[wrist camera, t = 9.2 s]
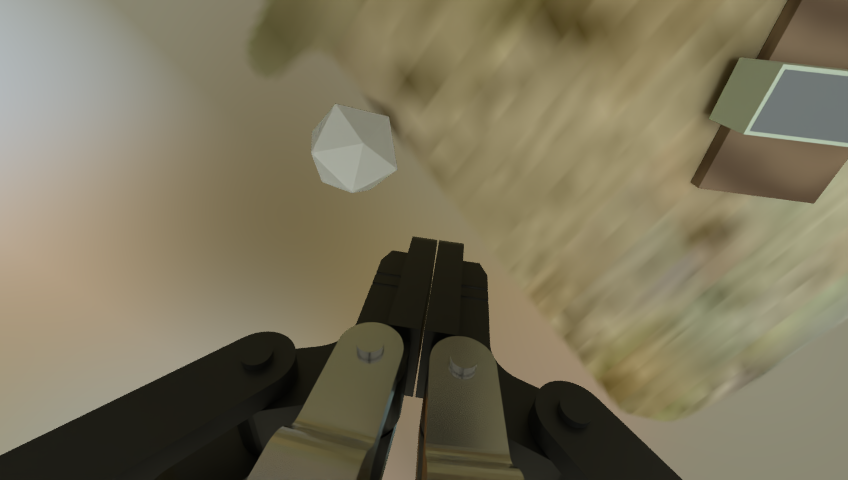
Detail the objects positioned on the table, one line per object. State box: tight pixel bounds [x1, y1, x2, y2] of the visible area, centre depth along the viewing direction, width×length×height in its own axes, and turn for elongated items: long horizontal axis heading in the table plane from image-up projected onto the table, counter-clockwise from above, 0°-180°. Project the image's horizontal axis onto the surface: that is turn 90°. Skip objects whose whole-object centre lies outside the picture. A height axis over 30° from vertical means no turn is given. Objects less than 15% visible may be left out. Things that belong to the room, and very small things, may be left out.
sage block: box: [709, 57, 848, 147], centre depth 29 cm, size 5×5×10 cm
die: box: [311, 104, 397, 193], centre depth 36 cm, size 8×9×10 cm
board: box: [691, 0, 848, 203], centre depth 31 cm, size 18×11×2 cm, turn 175°
